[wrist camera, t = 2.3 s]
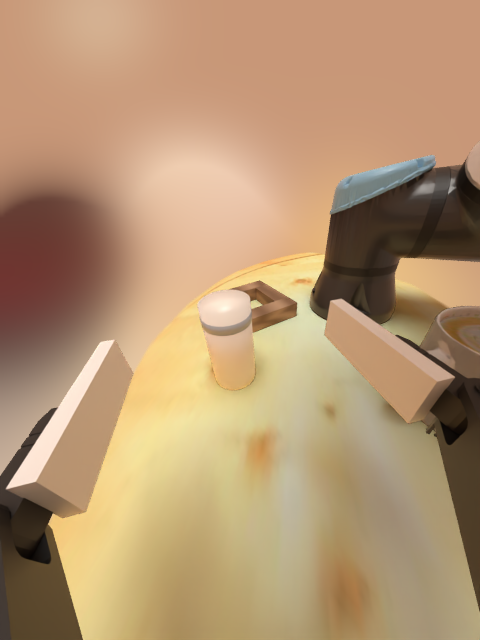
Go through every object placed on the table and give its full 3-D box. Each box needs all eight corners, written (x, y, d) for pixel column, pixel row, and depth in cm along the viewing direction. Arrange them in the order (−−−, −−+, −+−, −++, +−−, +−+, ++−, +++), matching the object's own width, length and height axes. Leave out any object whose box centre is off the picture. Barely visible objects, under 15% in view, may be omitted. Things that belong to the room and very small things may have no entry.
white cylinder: (244, 352, 32) (236, 285, 26) (263, 378, 28) (261, 304, 21) (209, 367, 30) (191, 298, 24) (224, 397, 26) (206, 322, 19)
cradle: (260, 291, 51) (259, 280, 49) (296, 315, 40) (297, 302, 38) (208, 307, 46) (206, 296, 44) (233, 339, 35) (231, 326, 34)
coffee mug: (475, 374, 25) (533, 306, 19) (562, 465, 17) (702, 393, 11) (359, 365, 28) (380, 304, 22) (386, 438, 20) (429, 371, 14)
